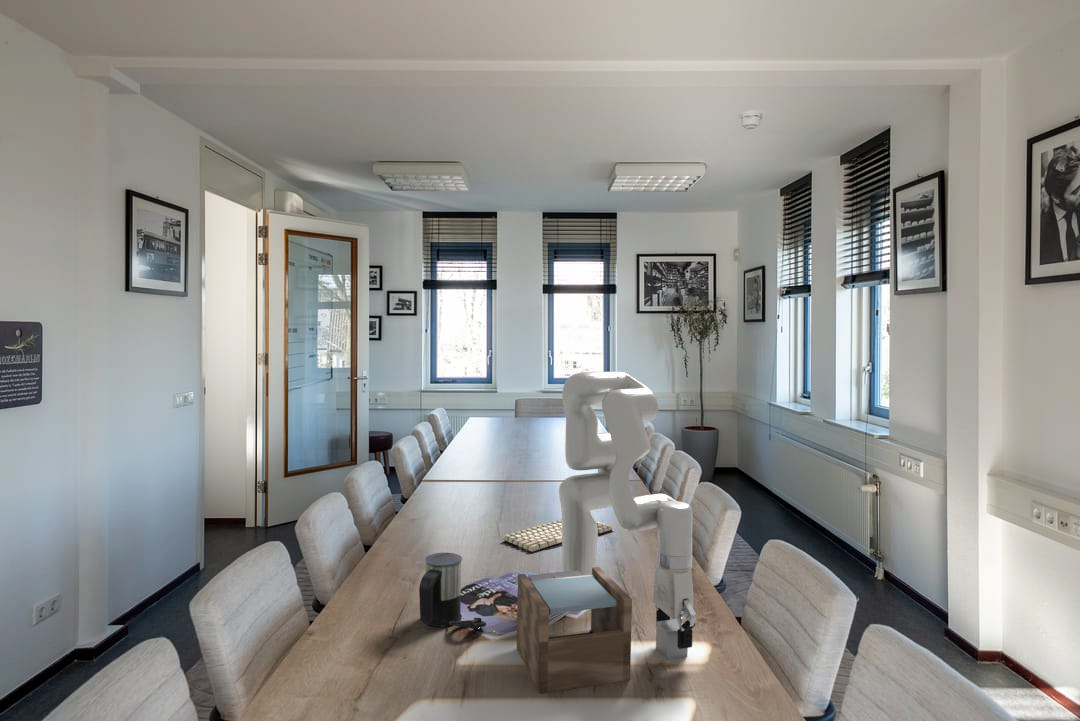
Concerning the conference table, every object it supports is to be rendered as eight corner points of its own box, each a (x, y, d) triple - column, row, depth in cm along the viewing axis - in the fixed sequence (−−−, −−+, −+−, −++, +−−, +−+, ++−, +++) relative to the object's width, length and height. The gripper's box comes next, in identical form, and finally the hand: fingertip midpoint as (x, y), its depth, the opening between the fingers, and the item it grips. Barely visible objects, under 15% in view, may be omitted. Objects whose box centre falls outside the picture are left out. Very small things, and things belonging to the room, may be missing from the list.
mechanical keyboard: (538, 558, 195) (538, 548, 195) (498, 543, 209) (498, 533, 209) (615, 533, 222) (615, 524, 221) (575, 521, 235) (576, 512, 235)
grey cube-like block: (655, 648, 140) (656, 621, 139) (676, 645, 141) (676, 619, 141) (666, 659, 135) (667, 632, 135) (687, 656, 136) (688, 629, 136)
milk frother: (427, 609, 157) (428, 551, 156) (490, 611, 156) (491, 552, 156) (414, 637, 143) (415, 573, 142) (483, 639, 142) (484, 575, 141)
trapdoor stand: (516, 648, 138) (517, 574, 138) (597, 637, 144) (598, 566, 143) (539, 693, 121) (541, 609, 120) (630, 679, 126) (632, 599, 126)
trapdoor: (521, 597, 142) (522, 570, 142) (583, 590, 147) (583, 565, 146) (547, 639, 123) (548, 608, 123) (617, 630, 127) (618, 600, 127)
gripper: (641, 548, 144) (640, 622, 145) (678, 575, 127) (677, 658, 128) (670, 545, 146) (670, 618, 147) (711, 571, 130) (710, 653, 130)
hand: (673, 637), depth 137 cm, fingers open, 9 cm apart
